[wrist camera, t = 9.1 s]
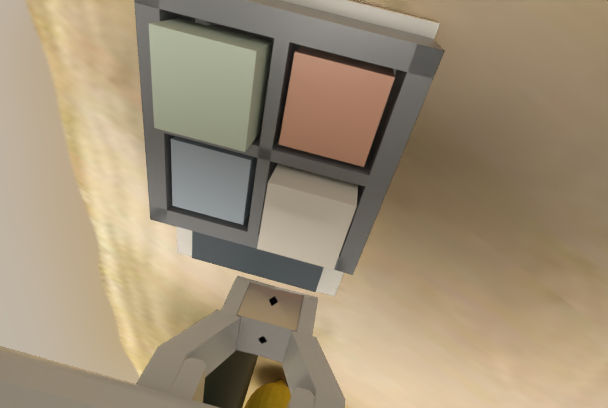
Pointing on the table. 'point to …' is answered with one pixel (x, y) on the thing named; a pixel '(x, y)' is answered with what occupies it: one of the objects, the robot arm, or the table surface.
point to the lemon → (270, 396)
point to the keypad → (285, 41)
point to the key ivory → (306, 215)
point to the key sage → (208, 82)
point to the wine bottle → (230, 381)
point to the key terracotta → (334, 105)
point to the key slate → (212, 180)
